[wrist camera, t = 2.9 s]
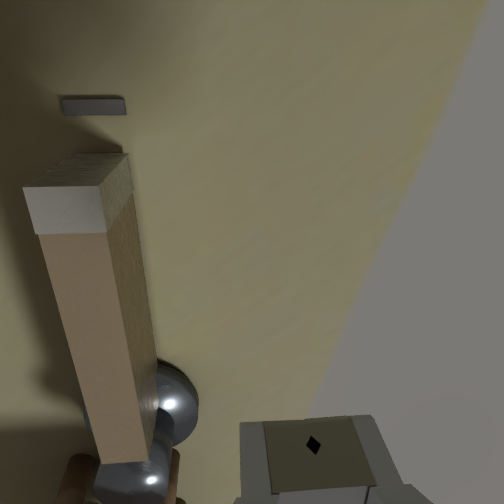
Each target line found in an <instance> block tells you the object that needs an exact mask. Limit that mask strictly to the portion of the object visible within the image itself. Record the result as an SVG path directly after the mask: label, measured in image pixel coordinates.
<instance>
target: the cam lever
mask: <svg viewBox="0 0 504 504" xmlns="http://www.w3.org/2000/svg"><path fill="white" fill-rule="evenodd" d="M22 188H23V192H24V195H25V199H26V202H27V206H28V210H29V213H30V217H31V220H32V224H33V227H34V231H35V234H38V237H39V240H40V244H41V247H42V251H43V255H44V258H45V262H46V265H47V269H48V273H49V276H50V280H51V283H52V287H53V291H54V294H55V298H56V301H57V305H58V309H59V312H60V316H61V320H62V323H63V327H64V330H65V334H66V338H67V341H68V345H69V348H70V352H71V356H72V359H73V363H74V366H75V370H76V374H77V377H78V381H79V384H80V388H81V392H82V395H83V399H84V402H85V406H84V419H85V422H86V425H87V427H88V428H89V430H90V431H91V432H92V434H93V435H94V438H95V442H96V446H97V449H98V453H99V456H100V460H101V462H100V465H99V469H98V472H97V476H96V479H95V482H94V486H93V492H94V495H95V496H96V498H97V499H98V500H99V501H100V502H101V503H103V504H158V503H160V502H161V501H162V500H163V499H164V498H165V496H166V494H167V490H168V482H169V473H170V464H171V456H172V447H173V446H176V445H177V444H179V443H181V442H182V441H184V440H185V439H186V438H187V437H188V436H189V435H190V434H191V433H192V432H193V430H194V428H195V426H196V424H197V420H198V406H199V398H198V394H197V391H196V389H195V387H194V385H193V384H192V382H191V381H190V380H189V379H188V378H187V377H186V376H184V375H183V374H182V373H180V372H179V371H177V370H175V369H173V368H171V367H168V366H165V365H162V364H158V363H157V356H156V349H155V342H154V335H153V328H152V321H151V314H150V307H149V300H148V294H147V287H146V280H145V273H144V266H143V259H142V252H141V245H140V238H139V231H138V224H137V217H136V210H135V203H134V196H133V191H134V186H133V179H132V172H131V165H130V158H129V153H104V154H72V155H70V156H69V157H67V158H66V159H64V160H63V161H61V162H60V163H58V164H57V165H55V166H54V167H52V168H51V169H49V170H48V171H46V172H45V173H43V174H42V175H40V176H39V177H37V178H36V179H34V180H33V181H31V182H30V183H28V184H27V185H25V186H24V187H22Z"/></svg>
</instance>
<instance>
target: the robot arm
mask: <svg viewBox="0 0 504 504" xmlns="http://www.w3.org/2000/svg"><path fill="white" fill-rule="evenodd" d="M240 480H241V497H237V498H236V500H235V502H234V503H233V504H433V503H432V502H431V501H430V500H428V499H427V498H426V497H425V496H424V495H423V494H421V493H420V492H419V491H418V490H417V489H416V488H415V487H413V486H412V485H411V484H403V482H402V480H401V478H400V475H399V473H398V471H397V469H396V467H395V464H394V462H393V460H392V458H391V455H390V453H389V451H388V449H387V447H386V444H385V442H384V440H383V438H382V435H381V433H380V431H379V429H378V427H377V424H376V422H375V420H374V418H373V417H372V416H371V415H355V416H335V417H322V418H309V419H305V420H282V421H263V422H262V421H259V422H240Z"/></svg>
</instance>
